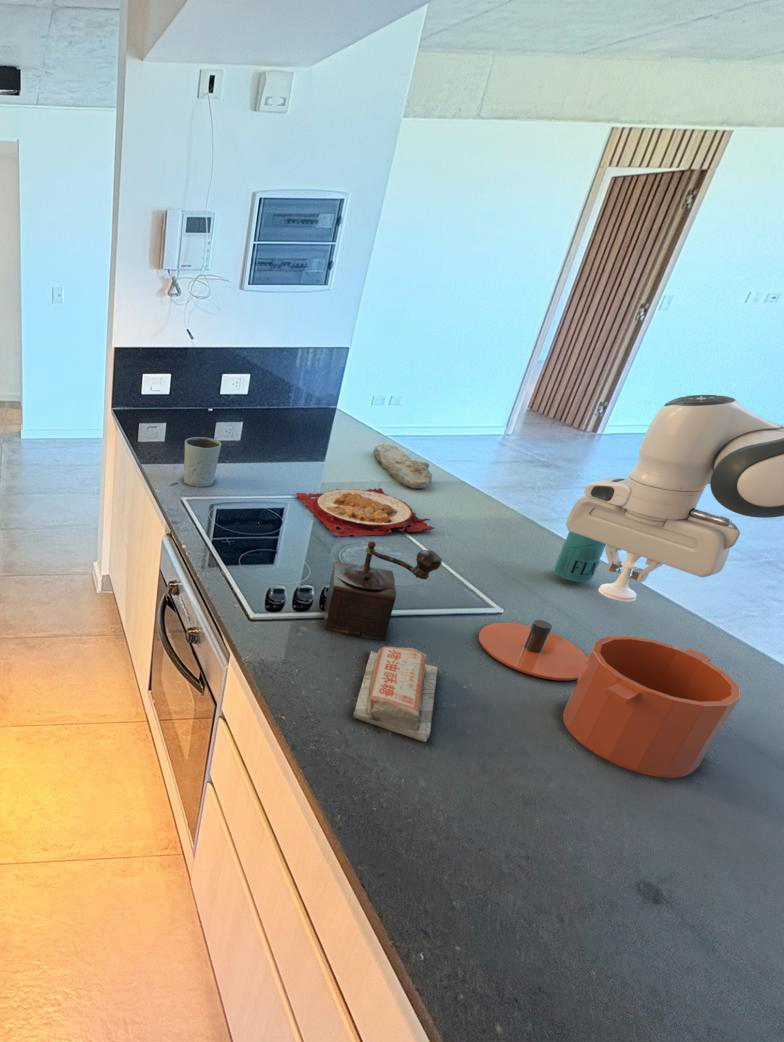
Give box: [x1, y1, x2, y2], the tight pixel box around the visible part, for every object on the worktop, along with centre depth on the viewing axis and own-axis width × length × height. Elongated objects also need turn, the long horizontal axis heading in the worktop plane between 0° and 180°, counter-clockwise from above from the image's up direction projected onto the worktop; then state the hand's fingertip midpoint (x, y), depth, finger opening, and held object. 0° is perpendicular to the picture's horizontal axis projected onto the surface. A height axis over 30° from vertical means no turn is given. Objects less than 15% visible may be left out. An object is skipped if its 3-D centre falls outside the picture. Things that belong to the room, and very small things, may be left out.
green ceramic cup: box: [183, 436, 222, 488], centre depth 177 cm, size 10×10×12 cm
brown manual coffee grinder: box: [323, 540, 443, 641], centre depth 109 cm, size 16×11×18 cm
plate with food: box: [295, 487, 436, 537], centre depth 157 cm, size 24×26×4 cm
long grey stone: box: [372, 443, 433, 489], centre depth 185 cm, size 35×5×10 cm
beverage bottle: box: [554, 530, 607, 583], centre depth 122 cm, size 6×7×20 cm
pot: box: [562, 635, 741, 779], centre depth 85 cm, size 15×20×12 cm
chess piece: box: [598, 551, 643, 603], centre depth 102 cm, size 5×5×10 cm
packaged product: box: [353, 645, 438, 743], centre depth 95 cm, size 18×5×10 cm
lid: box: [478, 619, 588, 681], centre depth 104 cm, size 16×16×6 cm
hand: (624, 575), depth 102 cm, fingers closed on chess piece
